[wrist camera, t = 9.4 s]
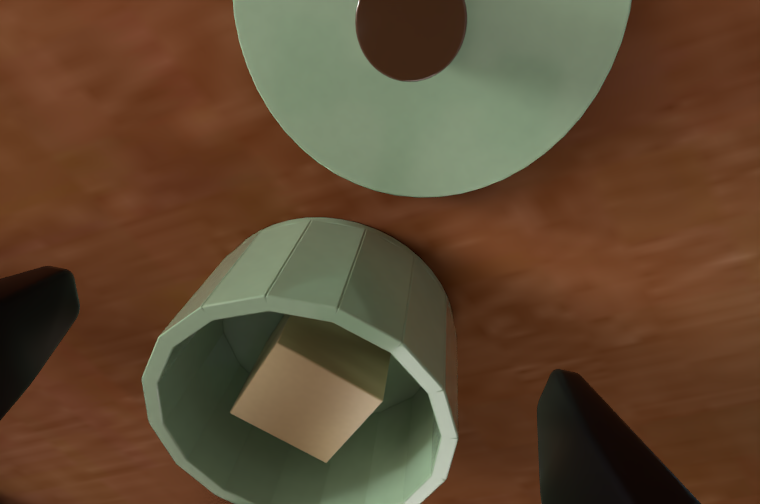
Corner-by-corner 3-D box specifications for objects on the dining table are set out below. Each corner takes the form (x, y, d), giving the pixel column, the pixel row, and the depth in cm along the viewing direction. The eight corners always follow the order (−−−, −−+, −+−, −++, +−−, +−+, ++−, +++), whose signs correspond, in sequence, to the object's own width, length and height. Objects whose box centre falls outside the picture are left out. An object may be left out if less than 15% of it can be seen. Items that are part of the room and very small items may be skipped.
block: (395, 327, 21) (383, 401, 17) (346, 385, 23) (326, 464, 19) (309, 276, 21) (276, 342, 17) (266, 341, 23) (228, 413, 19)
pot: (503, 357, 22) (519, 473, 17) (321, 442, 26) (289, 555, 21) (346, 163, 18) (304, 233, 13) (167, 298, 23) (83, 390, 18)
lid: (691, 49, 15) (823, 80, 10) (390, 241, 20) (368, 335, 14) (481, -381, 12) (509, -711, 6) (173, -23, 16) (33, -29, 11)
